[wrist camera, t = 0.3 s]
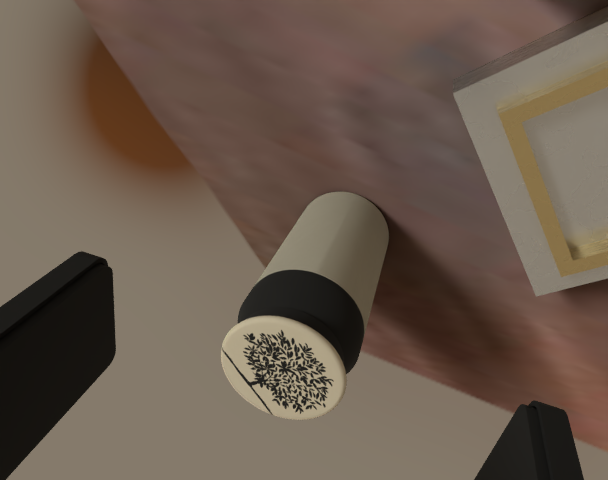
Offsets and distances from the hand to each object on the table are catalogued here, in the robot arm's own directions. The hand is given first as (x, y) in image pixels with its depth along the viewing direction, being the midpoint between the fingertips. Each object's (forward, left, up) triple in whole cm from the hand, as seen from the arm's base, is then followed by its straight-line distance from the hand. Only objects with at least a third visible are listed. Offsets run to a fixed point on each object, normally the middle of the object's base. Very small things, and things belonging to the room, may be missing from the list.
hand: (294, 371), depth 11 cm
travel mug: (+10, +8, -30) cm, 32 cm away
